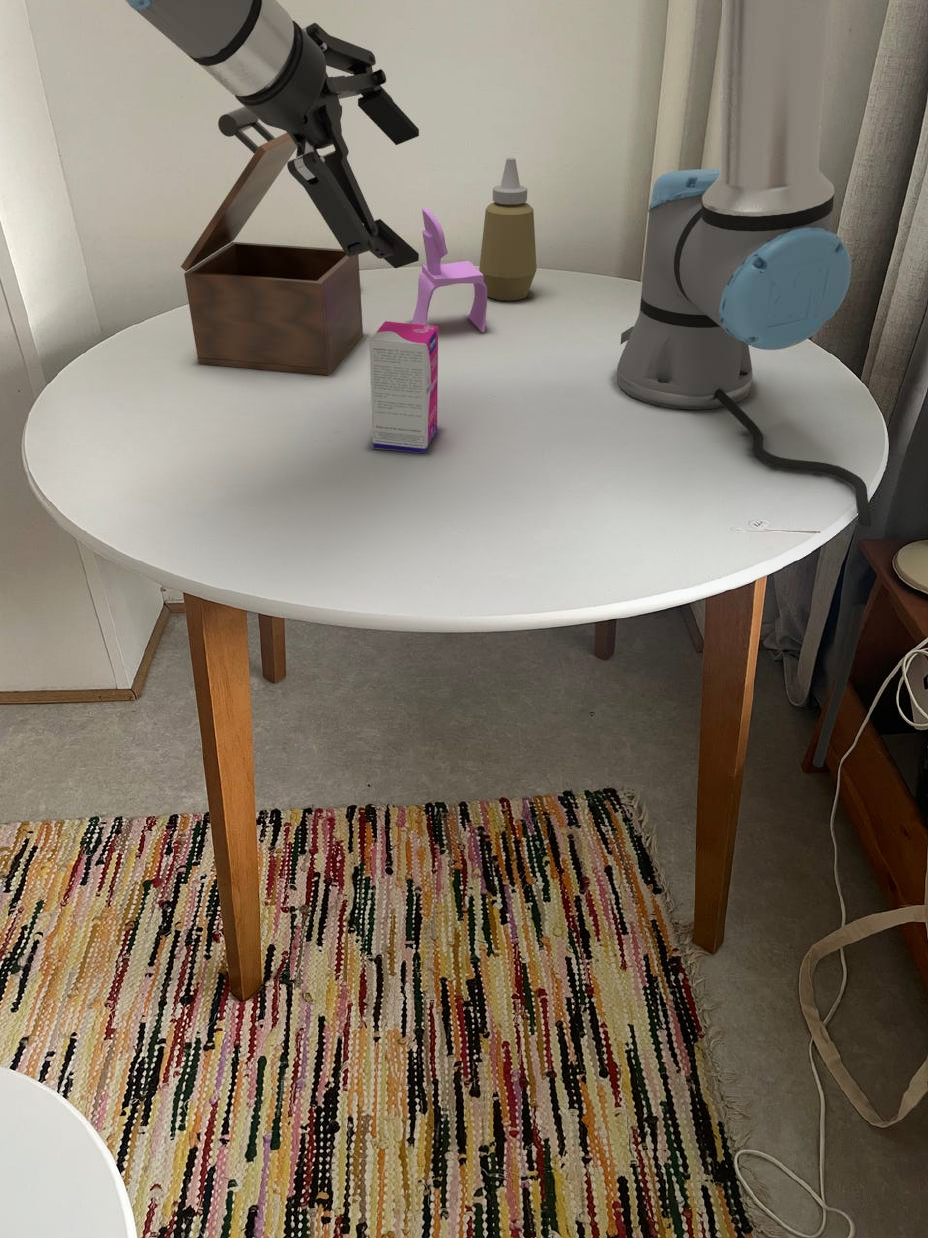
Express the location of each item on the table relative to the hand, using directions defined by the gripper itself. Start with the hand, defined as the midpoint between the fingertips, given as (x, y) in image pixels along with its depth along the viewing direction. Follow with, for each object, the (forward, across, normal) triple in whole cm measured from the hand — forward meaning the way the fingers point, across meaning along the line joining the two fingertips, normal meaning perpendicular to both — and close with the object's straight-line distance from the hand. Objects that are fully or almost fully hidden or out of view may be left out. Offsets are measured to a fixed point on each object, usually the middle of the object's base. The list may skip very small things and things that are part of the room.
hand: (407, 198), depth 98 cm
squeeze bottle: (+43, -14, -11) cm, 46 cm away
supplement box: (+9, +21, -6) cm, 23 cm away
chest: (+16, +2, -29) cm, 33 cm away
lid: (+4, -11, -24) cm, 27 cm away
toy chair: (+31, -4, -14) cm, 34 cm away
